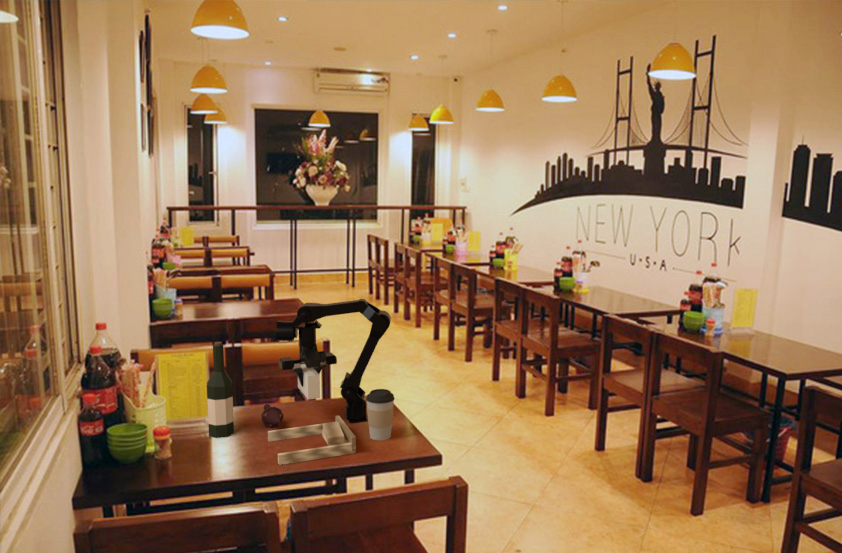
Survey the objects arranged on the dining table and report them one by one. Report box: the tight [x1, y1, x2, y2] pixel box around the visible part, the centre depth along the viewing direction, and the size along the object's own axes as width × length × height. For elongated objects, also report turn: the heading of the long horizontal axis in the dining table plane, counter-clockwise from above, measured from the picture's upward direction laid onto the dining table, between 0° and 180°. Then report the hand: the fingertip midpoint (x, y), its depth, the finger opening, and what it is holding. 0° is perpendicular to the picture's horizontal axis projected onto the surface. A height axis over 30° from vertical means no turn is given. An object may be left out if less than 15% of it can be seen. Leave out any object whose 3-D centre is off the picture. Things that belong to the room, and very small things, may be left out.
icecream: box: [260, 403, 284, 428], centre depth 212 cm, size 7×7×15 cm
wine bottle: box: [206, 341, 235, 439], centre depth 205 cm, size 8×8×30 cm
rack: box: [267, 415, 357, 466], centre depth 196 cm, size 23×19×5 cm
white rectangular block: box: [297, 364, 321, 400], centre depth 218 cm, size 4×14×8 cm, turn 25°
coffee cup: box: [365, 388, 395, 441], centre depth 204 cm, size 9×9×15 cm
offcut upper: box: [322, 421, 344, 446], centre depth 199 cm, size 5×12×2 cm, turn 16°
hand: (308, 385), depth 218 cm, fingers closed on white rectangular block, 4 cm apart
